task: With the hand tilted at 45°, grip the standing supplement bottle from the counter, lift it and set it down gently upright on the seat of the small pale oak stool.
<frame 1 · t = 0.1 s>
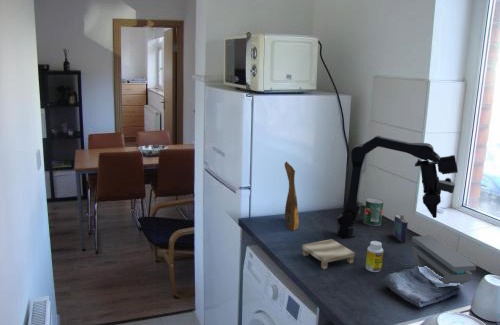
hand: (435, 214, 178), 15 cm above the kitchen counter, tool pointing down, fingers open, 9 cm apart
sharpening stone: (438, 279, 158), on the kitchen counter
oak stool: (327, 258, 171), on the kitchen counter
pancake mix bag: (290, 224, 205), on the kitchen counter
supplement bottle: (373, 269, 164), on the kitchen counter
flask: (399, 238, 193), on the kitchen counter
canned tomato: (372, 223, 210), on the kitchen counter
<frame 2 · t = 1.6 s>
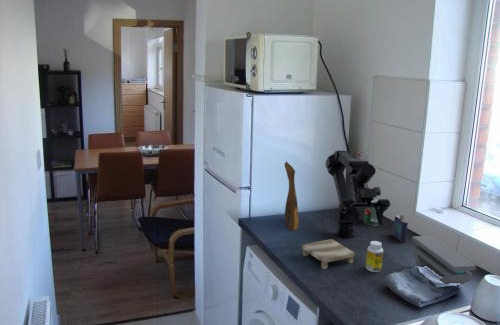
hand: (368, 226, 168), 13 cm above the kitchen counter, tool tilted 45°, fingers open, 9 cm apart
nothing on the kitchen counter moved.
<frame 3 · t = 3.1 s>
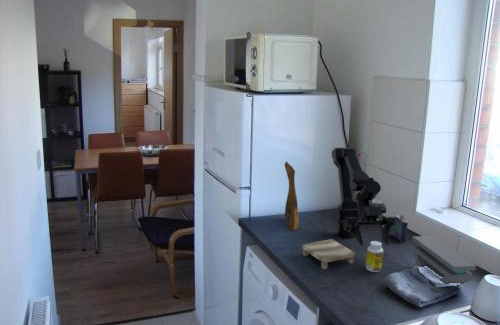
hand: (374, 245, 163), 9 cm above the kitchen counter, tool tilted 45°, fingers open, 9 cm apart
nothing on the kitchen counter moved.
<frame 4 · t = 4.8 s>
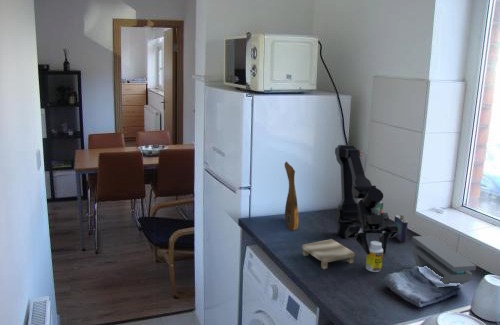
hand: (376, 253, 161), 7 cm above the kitchen counter, tool tilted 45°, fingers closed on supplement bottle, 5 cm apart
supplement bottle: (373, 269, 164), on the kitchen counter, touching gripper
everything else where it was.
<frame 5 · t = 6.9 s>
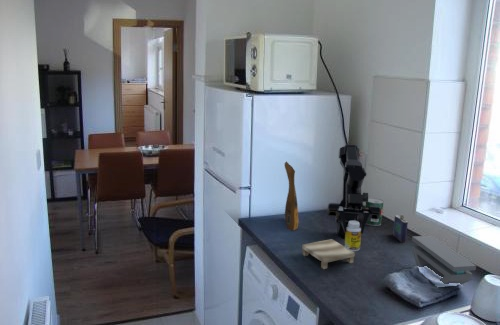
hand: (353, 232, 162), 13 cm above the kitchen counter, tool tilted 45°, fingers closed on supplement bottle, 5 cm apart
supplement bottle: (352, 249, 165), point 6 cm above the kitchen counter, touching gripper
everything else where it was.
when the fingers open (12 cm above the kitchen counter, at t = 8.9 s): supplement bottle stays where it is, resting on oak stool.
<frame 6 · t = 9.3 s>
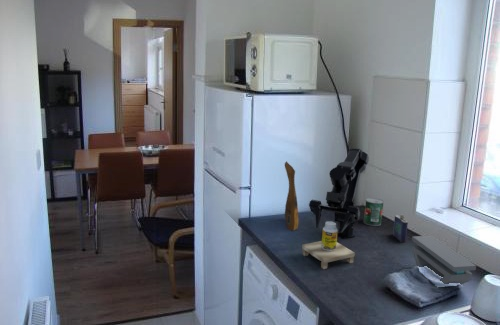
hand: (328, 229, 167), 12 cm above the kitchen counter, tool tilted 45°, fingers open, 9 cm apart
supplement bottle: (328, 249, 170), point 4 cm above the kitchen counter, touching oak stool
everything else where it was.
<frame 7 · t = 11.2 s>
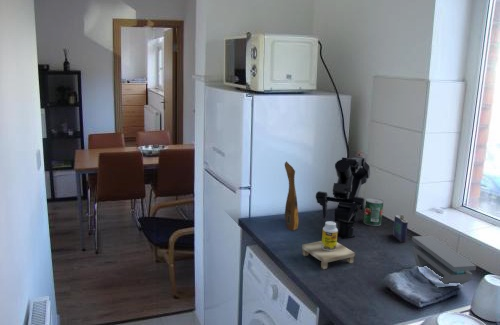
hand: (335, 219, 173), 14 cm above the kitchen counter, tool tilted 45°, fingers open, 9 cm apart
nothing on the kitchen counter moved.
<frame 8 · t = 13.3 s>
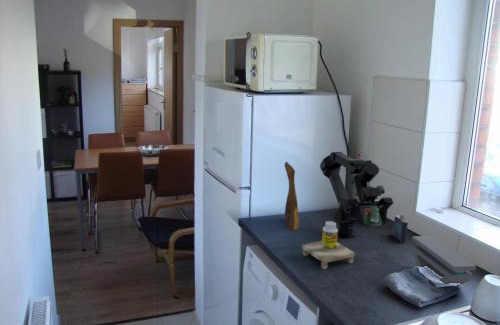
hand: (374, 224, 170), 14 cm above the kitchen counter, tool tilted 45°, fingers open, 9 cm apart
nothing on the kitchen counter moved.
at the end: supplement bottle inside the target area on the oak stool (0.2 cm from its centre), point 3.8 cm above the oak stool's base; supplement bottle tilted 0°; the gripper is holding nothing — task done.
